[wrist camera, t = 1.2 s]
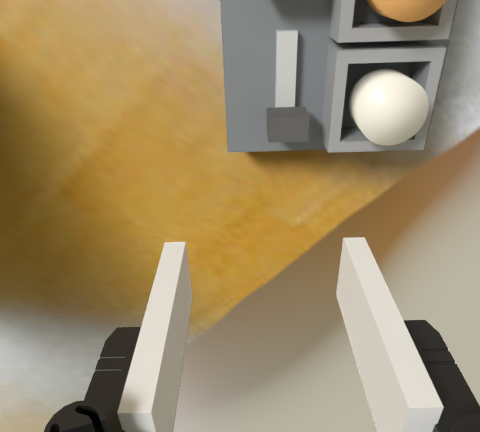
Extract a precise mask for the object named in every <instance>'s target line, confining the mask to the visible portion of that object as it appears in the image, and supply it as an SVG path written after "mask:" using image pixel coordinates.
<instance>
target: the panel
mask: <svg viewBox="0 0 480 432" xmlns="http://www.w3.org/2000/svg"><path fill="white" fill-rule="evenodd" d="M220 2H221V22H222V43H223V63H224V83H225V104H226V124H227V144H228V152H258V151H294V150H327V152H328V153H330V152H366V151H402V150H424V147H425V145H426V141H427V136H428V132H429V127H430V123H431V119H432V114H433V110H434V105H435V101H436V96H437V92H438V88H439V83H440V79H441V74H442V70H443V65H444V61H445V56H446V52H447V48H448V43H449V39H450V34H451V30H452V25H453V21H454V16H455V12H456V8H457V3H458V0H446V2H445V3H444V4H443V5H442V6H441V7H440V8H439V9H438V10H437V11H436V12H435V13H433V14H432V15H430V16H428V17H427V18H425V19H422V20H419V21H415V22H402V21H398V20H395V19H392V18H388V17H385V16H382V15H379V14H378V13H376V12H375V11H373V10H372V9H371V8H370V7H369V5H368V4H367V2H366V0H220ZM380 68H391V69H395V70H397V71H399V72H401V73H403V74H404V75H406V76H407V77H409V78H411V79H412V80H414V81H415V82H417V83H418V84H420V85H421V86H422V87H423V89H424V90H425V92H426V94H427V97H428V101H429V109H428V114H427V117H426V120H425V122H424V124H423V125H422V127H421V128H420V130H419V131H418V132H417V133H416V134H415V135H414V136H412V137H411V138H410V139H408V140H406V141H404V142H402V143H399V144H396V145H390V146H383V145H378V144H375V143H373V142H371V141H370V140H369V139H367V138H366V137H365V135H364V134H363V133H362V131H361V130H360V129H359V127H358V126H357V125H356V124H355V122H354V121H353V119H352V118H351V116H350V113H349V108H348V101H349V96H350V93H351V91H352V89H353V87H354V85H355V84H356V83H357V81H358V80H359V79H360V78H361V77H363V76H364V75H365V74H367V73H369V72H371V71H373V70H376V69H380ZM273 107H305V108H306V110H307V112H308V114H309V133H308V141H307V142H271V143H269V142H268V136H267V108H273Z"/></svg>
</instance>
